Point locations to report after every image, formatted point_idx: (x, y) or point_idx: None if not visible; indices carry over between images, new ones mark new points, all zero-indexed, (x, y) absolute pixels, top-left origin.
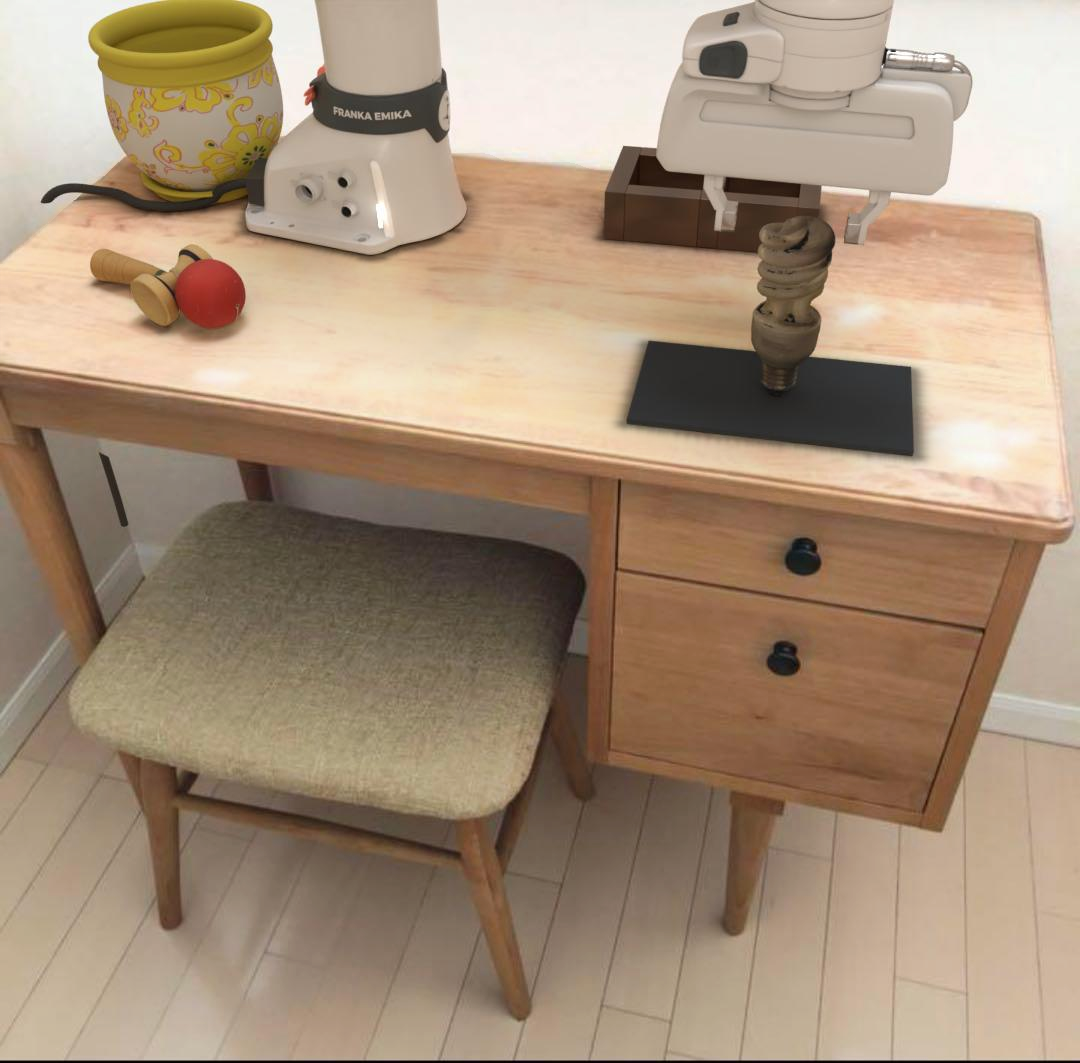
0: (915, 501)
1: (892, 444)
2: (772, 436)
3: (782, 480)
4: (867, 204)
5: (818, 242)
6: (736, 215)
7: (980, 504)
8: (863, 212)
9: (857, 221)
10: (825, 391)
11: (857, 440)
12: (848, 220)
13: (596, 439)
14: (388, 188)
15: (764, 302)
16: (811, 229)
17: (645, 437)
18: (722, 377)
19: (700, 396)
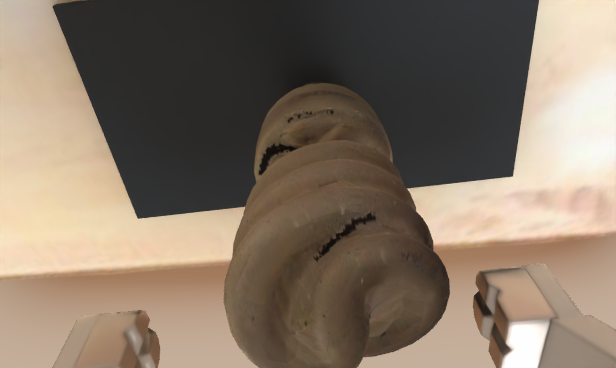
0: (500, 245)
1: (485, 173)
2: None
3: None
4: (594, 356)
5: (400, 313)
6: (133, 325)
7: (573, 230)
8: (566, 357)
9: (533, 363)
10: (391, 74)
11: (439, 177)
12: (504, 361)
13: (122, 248)
14: None
15: (268, 144)
16: (377, 299)
17: (175, 229)
18: (223, 87)
19: (209, 146)
